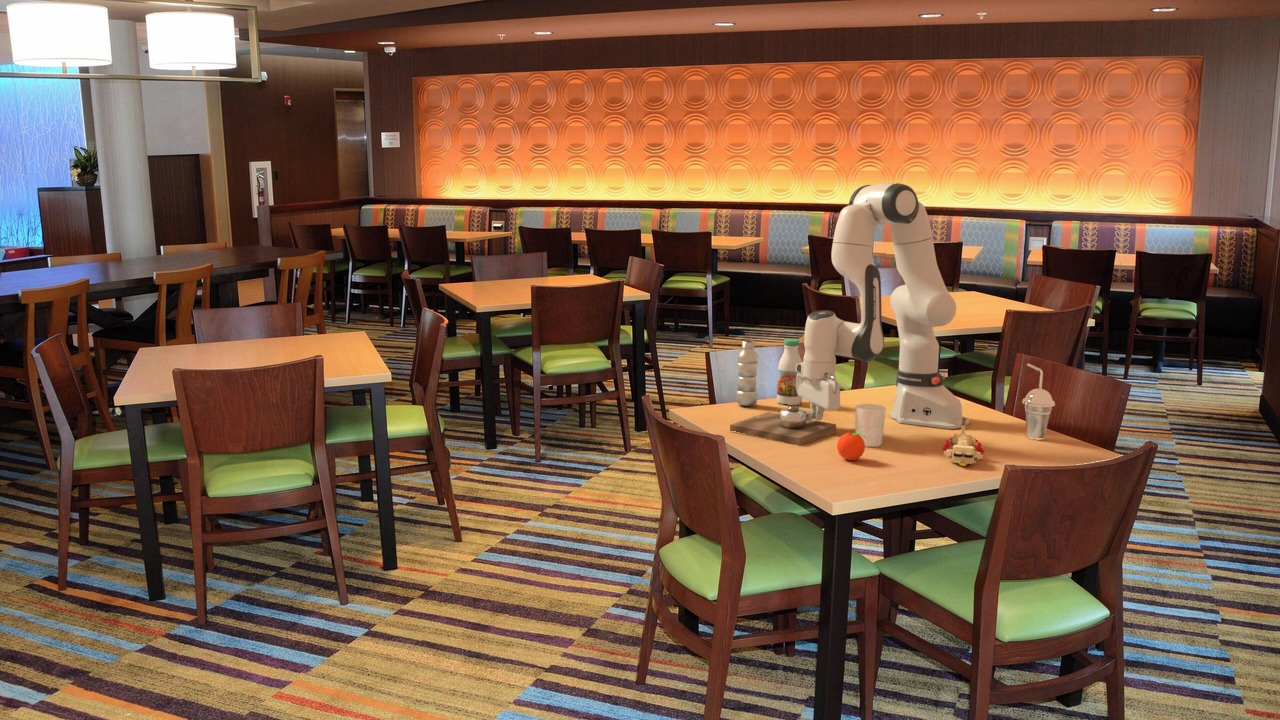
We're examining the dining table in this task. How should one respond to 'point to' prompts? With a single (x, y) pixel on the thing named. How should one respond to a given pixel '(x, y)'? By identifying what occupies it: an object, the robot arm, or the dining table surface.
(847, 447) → the clementine
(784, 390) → the milk bottle
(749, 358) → the plastic bottle
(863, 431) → the white cup
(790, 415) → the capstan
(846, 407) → the dining table surface
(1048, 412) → the cup with straw
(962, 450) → the blocky toy figure
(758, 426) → the walnut stand
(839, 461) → the dining table surface
